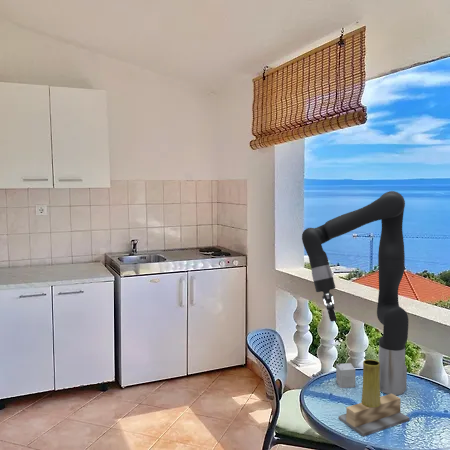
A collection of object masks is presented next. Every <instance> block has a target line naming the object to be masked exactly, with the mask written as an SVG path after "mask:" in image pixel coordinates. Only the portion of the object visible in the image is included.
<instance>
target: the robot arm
mask: <svg viewBox="0 0 450 450" xmlns="http://www.w3.org/2000/svg"><path fill="white" fill-rule="evenodd" d="M405 206H406V200H405V198H404V196H403V195H402V194H401V193H400V192H398V191H395V190H394V191H393V190H391V191H387V192H385V193H383V194H381V196H380V197H379V198H377V199H376V200H374V201H372V202H371V203H369V204H367V205H366V206H362V207H361V208H358V209H354V210H353V211H349V212H346V213H344V214H341V215H338V216H336V217H334V218H330V219H329V220H327V221H326V222H325V223H324V224H322V225H319V226H317V227H307V228H305V230H303V231H302V235H301V240H302V244H303V247H304V250H305V252H306V254H307V257H308V260H309V261H308V262H309V265H310V269H311V276H312V281H313V284H314V289H315V292H316V293H321V292H323V293H322V294H323V295H322V296H321V298H322V301H323V303H324V307H325V308H326V311H327V314H328V318H329V320H330V322H336V321H337V316H336V313H335V302H334V296H333V295H334V294H332V293H331V292H330V291H331V290H334V289H336V284H335V280H334V276H333V273H332V269H331V266H330V262H329V258H328V255H327V253H326V251H325V250H324V248H323V244H325V243H327V242H329V241H330V240H332V239H334V238H338V237H341V236H344V235H346V234H348V233H350V232H353V231H354V230H356V229H358V228H360V227H363V226H365V225H368V224H371V223H374V222H378V221H381V233H380V238H379V243H378V255H377V258H378V259H377V260H378V261H377V262H378V263H377V264H378V269H377V270H378V297H377V298H378V299H377V306H376V307H377V308H376V317H377V319H378V321H379V322H380V324H381V325H383V332H382V336H380V338H378V339H379V341H378V345H379V346H378V348H379V349H378V362H379V363H380V392H382V393H384V394H386V395H388V394H394V395H396V396H399V395H403V394H404V393H405V392H406V391H407V379H408V378H407V376H408V375H407V374H408V369H407V368H408V367H407V365H406V344H407V341H408V337H409V316H408V315H409V314H408V312H407V311H406V310H405V309H404V308H402V307H401V306H400V305H399V287H400V284H401V281H402V278H403V277H404V273H405V266H406V265H405V263H406V262H405V260H406V259H405V258H406V257H405V256H406V255H405V242H404V234H403V220H404V213H405V208H406V207H405Z"/></svg>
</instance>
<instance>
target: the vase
mask: <svg viewBox="0 0 450 450" xmlns="http://www.w3.org/2000/svg"><path fill="white" fill-rule="evenodd" d="M362 366H363V367H362V370H363V371H362V390H361V391H362V392H361V402H360V403H362V404H363V405H365V406H367V407H372V408H375V407H379V406H380V404H381V403H380V397H381V391H380V363H379V360H376V359H370V358H369V359H365V360H363V362H362Z"/></svg>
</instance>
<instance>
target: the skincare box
mask: <svg viewBox="0 0 450 450" xmlns="http://www.w3.org/2000/svg"><path fill="white" fill-rule="evenodd" d="M335 367H336V368H335V373H336V374H335V375H336V381H335V382H336V383H337V385H338V386H339V388H340V389H345V388H347V389H349V388H356V368H355V367H354V366H353V364H352V363H351V362H348V363H347V362H346V363H345V362H344V363H336V364H335Z"/></svg>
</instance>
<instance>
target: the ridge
mask: <svg viewBox="0 0 450 450" xmlns="http://www.w3.org/2000/svg"><path fill="white" fill-rule="evenodd" d="M380 403H381V404H380V406H379V407H375V408H372V407H367V406H365V405H363V404H362V402H360V403H359V402H358V403H356V404H353V405H349V406H346V411H345V412H346V413H344V414H340V415H338V420H339V421H340V422H342V423H344V424H345V426H348V427H350V428H351V429H352V430H353V431H355V432H356V433H357V434H359V435H360V436H362V437H365V436H366V437H367V436H369V435H371V434H375V433H377V432H380V431H383V430H386V429H389V428H392V427H394V426H397V425H401V424H403V423H406V422H409V421H410V417H409V416H407V415H406V414H404V413H402V412H401V406H402V405H401V397H399V396H398V395H394V394H386V395H385V394H384V395H382V396H380Z"/></svg>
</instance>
